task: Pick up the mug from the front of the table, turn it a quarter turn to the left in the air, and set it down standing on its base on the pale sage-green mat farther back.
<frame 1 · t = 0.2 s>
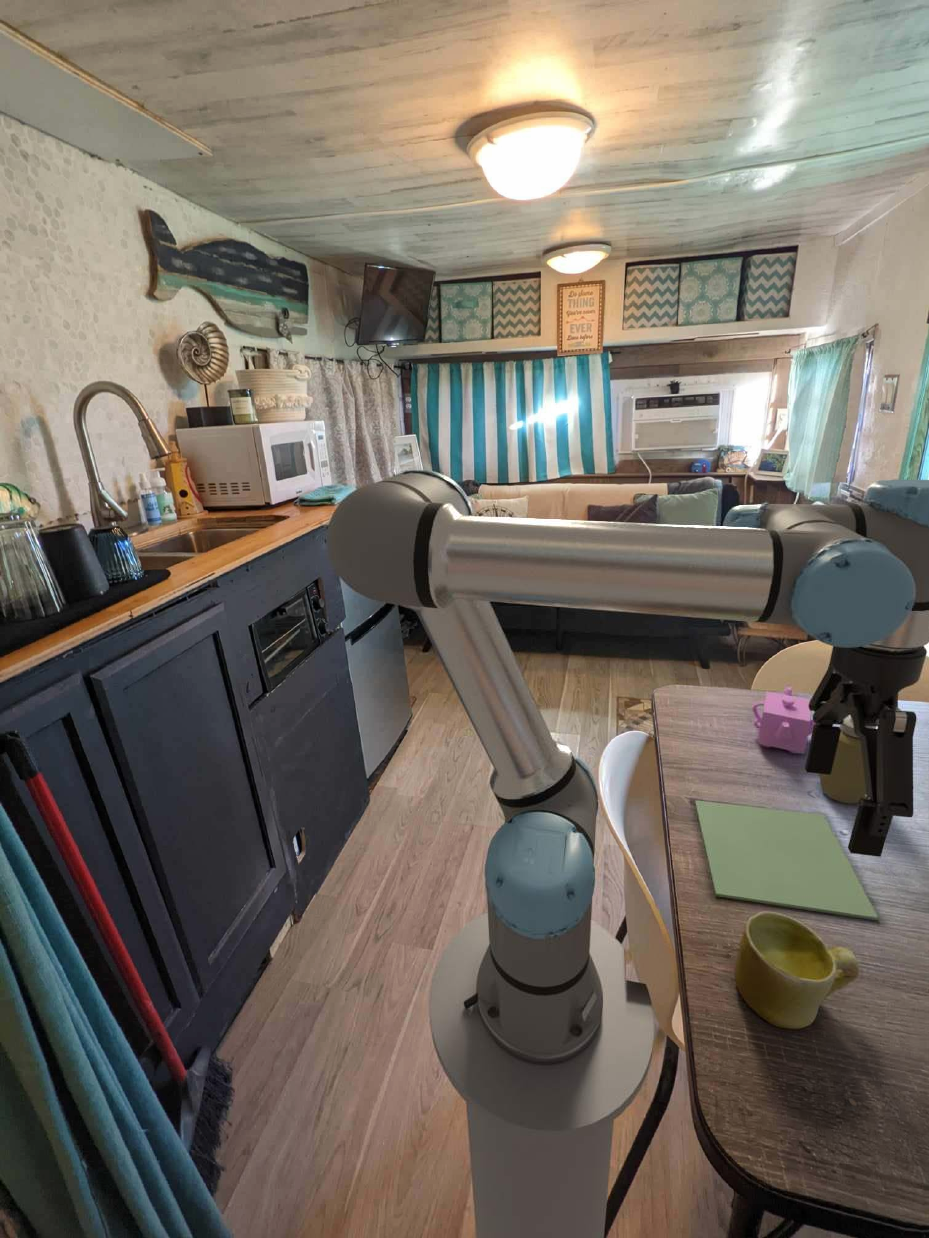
hand: (838, 808, 62), 21 cm above the table, tool pointing down, fingers open, 13 cm apart
squeeze bottle: (841, 794, 96), on the table
mug: (790, 996, 64), on the table
teapot: (784, 743, 110), on the table
mat: (773, 853, 84), on the table
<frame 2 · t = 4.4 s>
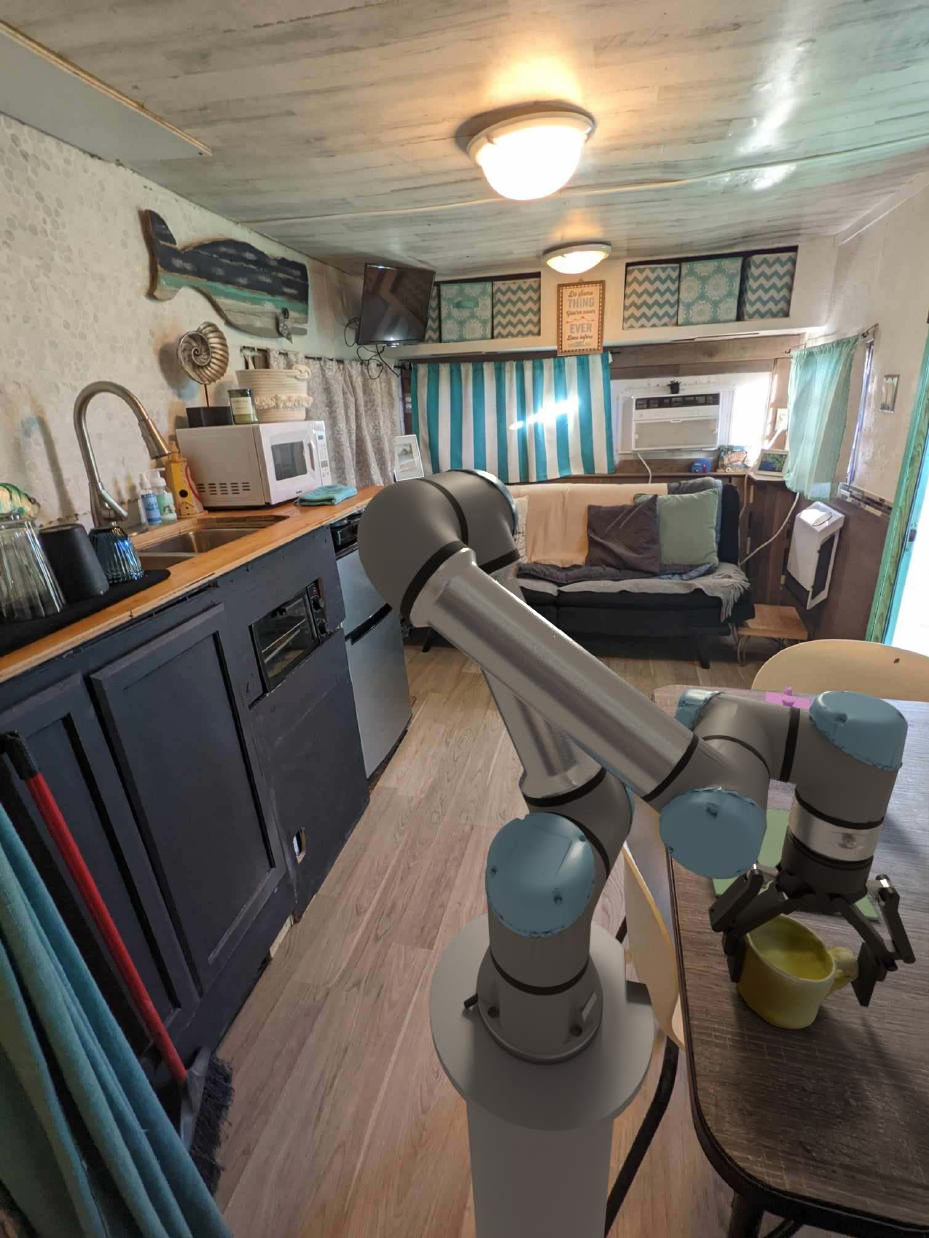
hand: (794, 982, 63), 2 cm above the table, tool pointing down, fingers closed on mug, 12 cm apart
mug: (790, 996, 64), on the table, touching gripper
everything else where it was.
when the fingers open (3 cm above the table, at t = 15.4 s): mug stays where it is, resting on mat.
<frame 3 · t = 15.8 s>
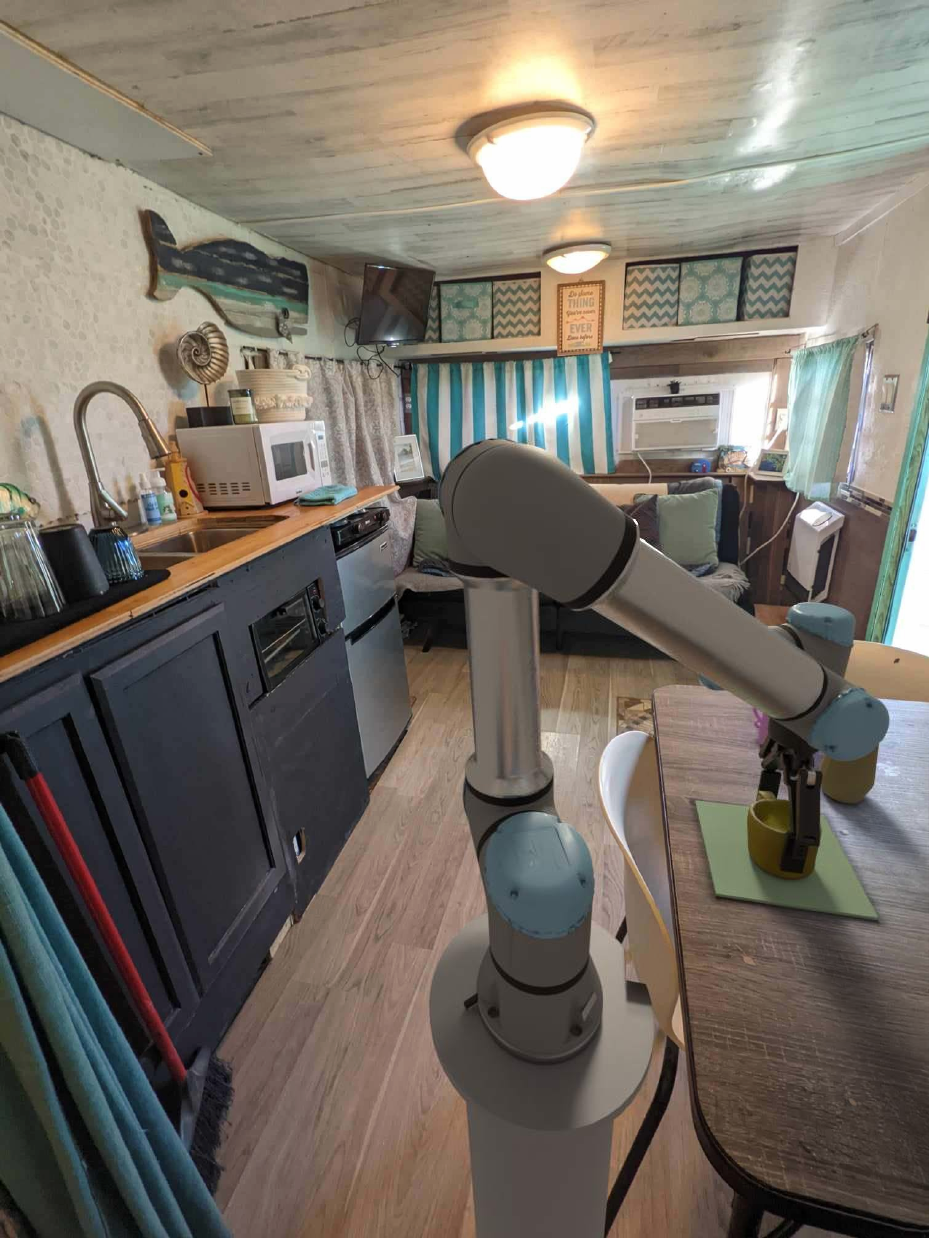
hand: (777, 835, 82), 3 cm above the table, tool pointing down, fingers open, 13 cm apart
mug: (773, 851, 84), resting on mat
everything else where it was.
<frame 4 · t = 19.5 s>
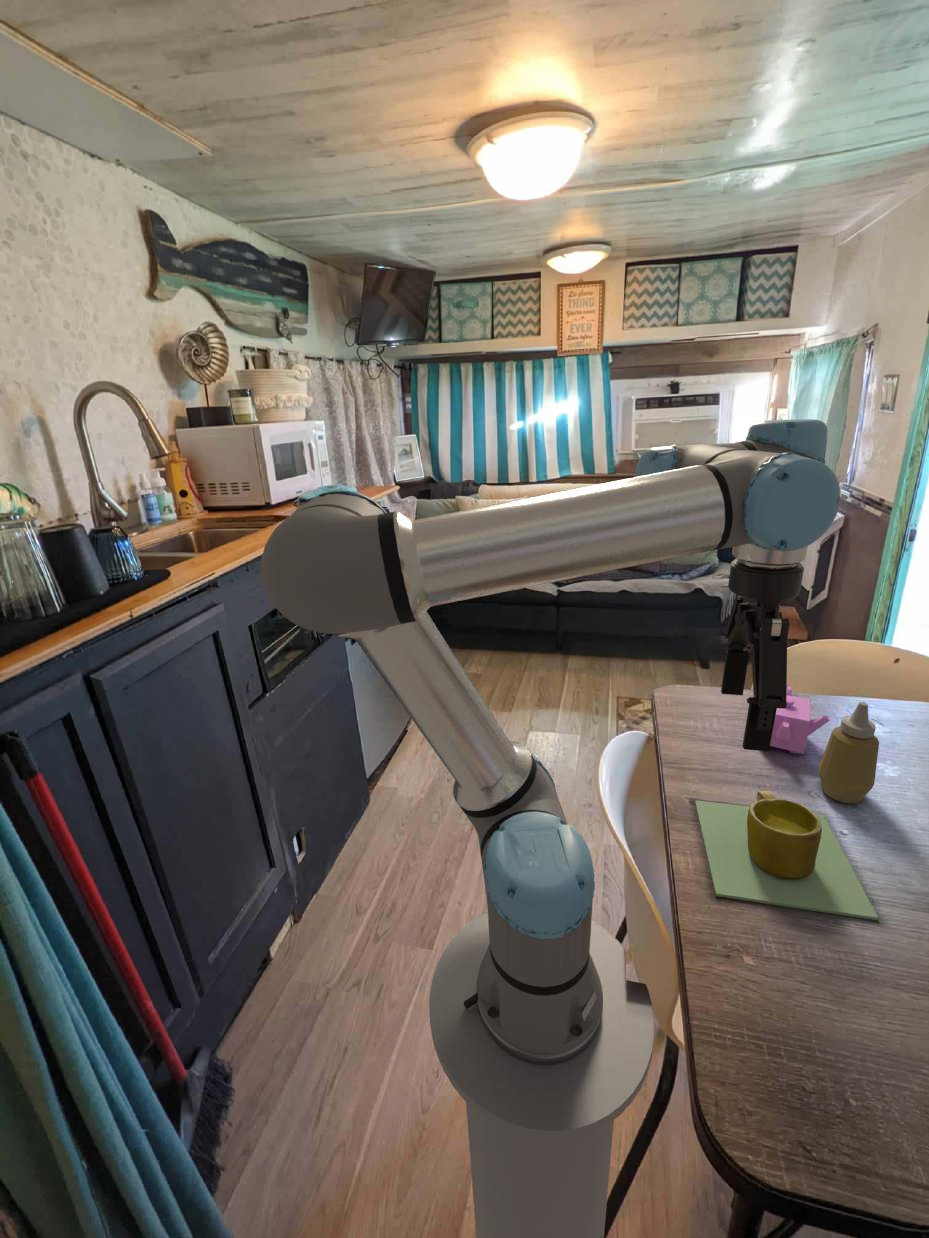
hand: (742, 718, 71), 27 cm above the table, tool pointing down, fingers open, 13 cm apart
nothing on the table moved.
at the end: mug inside the target area on the mat (0.1 cm from its centre), point 0.3 cm above the mat's base; mug touching mat; the gripper is holding nothing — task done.
